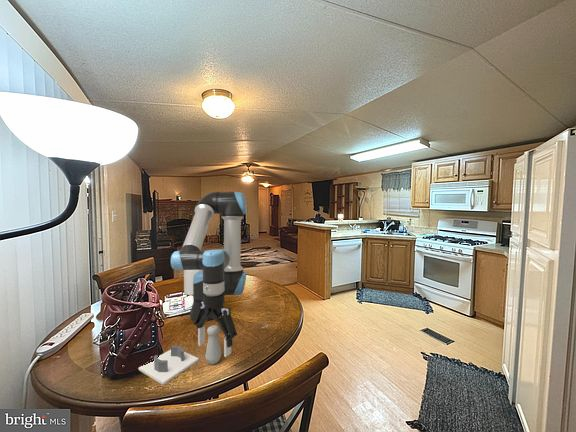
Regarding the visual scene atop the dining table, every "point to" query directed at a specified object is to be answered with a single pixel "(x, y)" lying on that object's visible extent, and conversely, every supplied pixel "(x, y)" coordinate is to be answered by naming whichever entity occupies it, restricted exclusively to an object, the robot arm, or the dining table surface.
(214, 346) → the salt shaker
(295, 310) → the dining table surface
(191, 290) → the can
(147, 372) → the square base with blocks
